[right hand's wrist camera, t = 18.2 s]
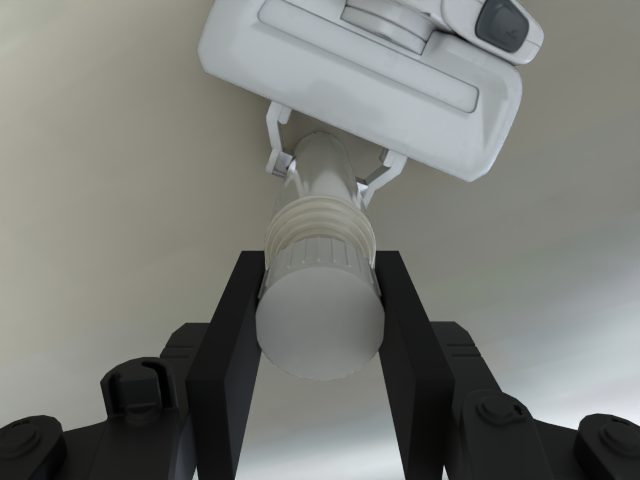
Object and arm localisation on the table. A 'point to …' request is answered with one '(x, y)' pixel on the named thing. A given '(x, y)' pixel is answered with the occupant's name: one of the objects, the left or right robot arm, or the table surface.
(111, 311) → the table surface
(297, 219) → the bottle
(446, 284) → the table surface
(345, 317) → the cap
